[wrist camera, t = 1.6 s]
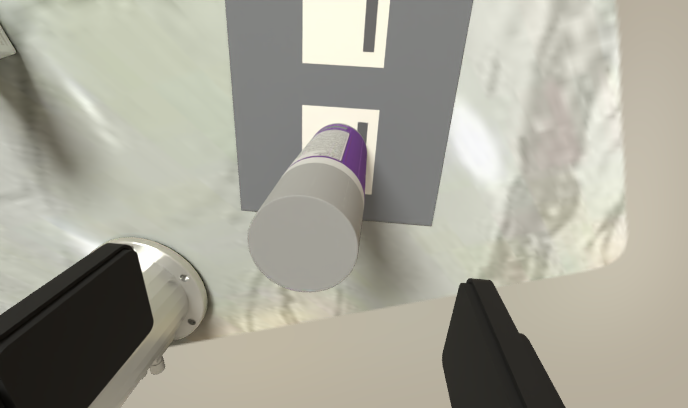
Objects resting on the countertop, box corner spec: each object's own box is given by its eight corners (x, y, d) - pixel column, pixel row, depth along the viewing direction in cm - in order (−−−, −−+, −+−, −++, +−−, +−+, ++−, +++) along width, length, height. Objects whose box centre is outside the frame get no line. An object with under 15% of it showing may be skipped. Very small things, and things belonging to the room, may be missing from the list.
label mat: (431, 225, 29) (431, 226, 29) (241, 209, 29) (241, 210, 29) (490, -96, 20) (490, -97, 20) (217, -106, 21) (216, -107, 21)
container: (370, 176, 27) (367, 292, 13) (315, 181, 28) (259, 298, 14) (364, 119, 25) (354, 185, 12) (305, 126, 26) (230, 197, 12)
